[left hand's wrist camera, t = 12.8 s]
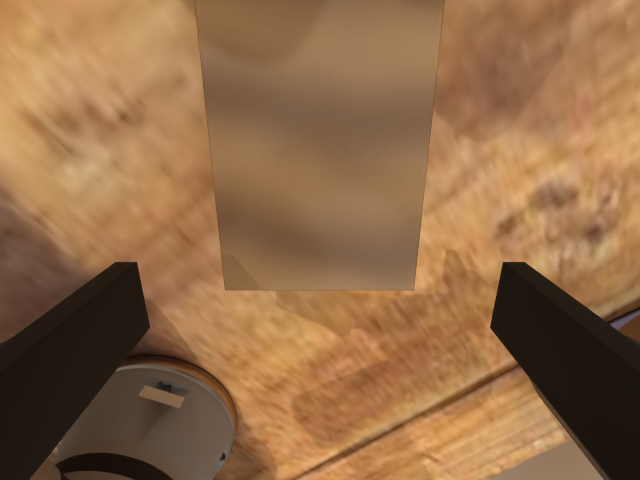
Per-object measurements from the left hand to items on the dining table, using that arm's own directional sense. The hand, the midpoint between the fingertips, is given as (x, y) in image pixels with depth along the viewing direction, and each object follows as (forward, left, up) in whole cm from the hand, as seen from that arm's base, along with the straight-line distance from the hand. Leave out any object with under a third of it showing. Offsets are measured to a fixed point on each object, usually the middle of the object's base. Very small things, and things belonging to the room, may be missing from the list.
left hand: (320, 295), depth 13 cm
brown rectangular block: (+6, -3, -16) cm, 17 cm away
